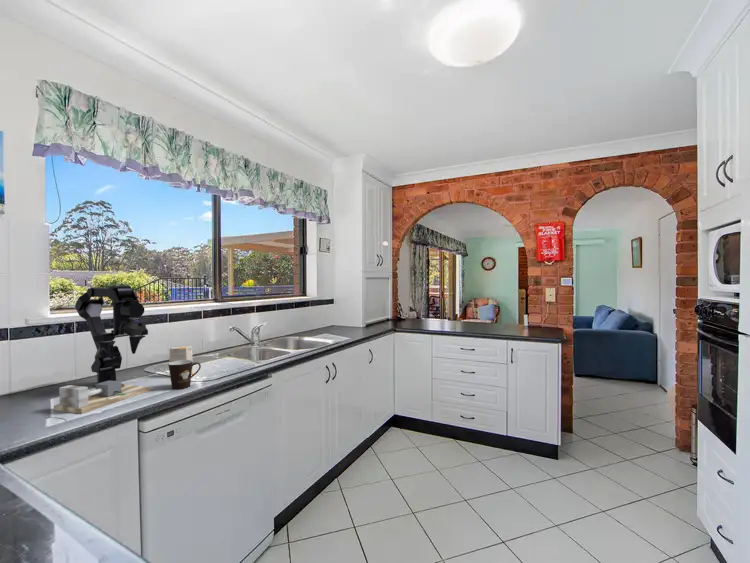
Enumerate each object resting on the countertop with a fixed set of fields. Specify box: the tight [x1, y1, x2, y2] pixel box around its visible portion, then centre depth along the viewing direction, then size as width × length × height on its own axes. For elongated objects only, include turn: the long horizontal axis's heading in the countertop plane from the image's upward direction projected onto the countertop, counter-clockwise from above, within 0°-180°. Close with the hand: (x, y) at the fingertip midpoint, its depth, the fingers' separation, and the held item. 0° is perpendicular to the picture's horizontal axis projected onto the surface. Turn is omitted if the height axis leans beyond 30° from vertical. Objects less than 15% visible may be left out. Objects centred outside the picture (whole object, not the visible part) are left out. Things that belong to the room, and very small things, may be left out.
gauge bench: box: [53, 383, 151, 414], centre depth 134 cm, size 13×25×8 cm, turn 162°
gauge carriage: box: [88, 380, 122, 397], centre depth 132 cm, size 9×11×4 cm
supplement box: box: [168, 345, 194, 375], centre depth 165 cm, size 8×5×13 cm, turn 84°
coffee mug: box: [168, 360, 202, 391], centre depth 148 cm, size 12×9×10 cm
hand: (123, 355), depth 148 cm, fingers open, 9 cm apart
